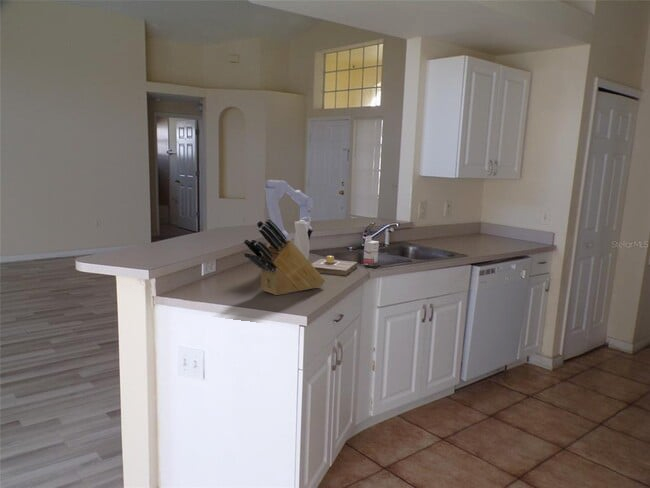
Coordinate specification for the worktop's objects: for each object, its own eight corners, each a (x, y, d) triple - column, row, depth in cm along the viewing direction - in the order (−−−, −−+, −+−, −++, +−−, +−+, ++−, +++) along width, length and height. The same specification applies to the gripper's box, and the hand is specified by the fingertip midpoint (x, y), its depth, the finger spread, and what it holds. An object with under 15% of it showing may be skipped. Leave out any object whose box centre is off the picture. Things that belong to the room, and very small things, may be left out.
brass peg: (331, 269, 252) (332, 257, 251) (324, 268, 254) (325, 256, 253) (334, 267, 256) (335, 256, 255) (327, 266, 257) (328, 255, 256)
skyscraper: (305, 274, 239) (307, 216, 234) (311, 278, 231) (313, 218, 227) (288, 275, 236) (290, 216, 231) (294, 279, 228) (295, 218, 224)
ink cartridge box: (371, 264, 268) (372, 237, 266) (363, 263, 270) (364, 236, 268) (378, 262, 275) (379, 235, 273) (369, 260, 278) (371, 234, 275)
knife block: (240, 293, 199) (241, 217, 194) (308, 282, 222) (311, 213, 217) (256, 300, 191) (257, 220, 186) (325, 287, 214) (328, 216, 209)
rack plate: (345, 275, 239) (346, 270, 239) (306, 271, 245) (306, 265, 244) (356, 267, 260) (357, 261, 259) (320, 263, 266) (320, 258, 265)
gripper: (307, 220, 258) (306, 246, 260) (316, 218, 271) (315, 242, 274) (294, 219, 260) (294, 245, 262) (304, 217, 274) (303, 241, 276)
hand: (304, 244), depth 268 cm, fingers open, 7 cm apart
